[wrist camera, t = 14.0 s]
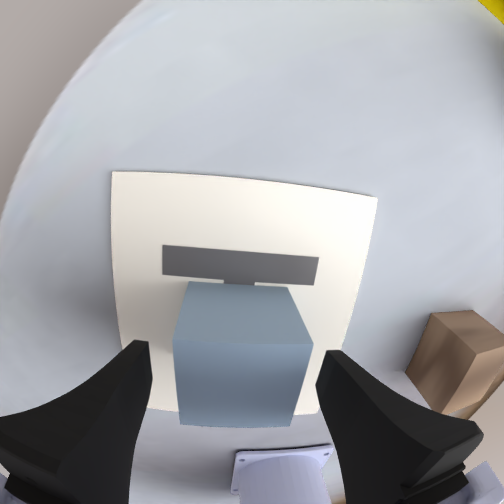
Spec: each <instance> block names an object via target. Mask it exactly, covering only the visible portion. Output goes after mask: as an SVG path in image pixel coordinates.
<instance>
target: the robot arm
mask: <svg viewBox="0 0 504 504" xmlns="http://www.w3.org/2000/svg"><path fill="white" fill-rule="evenodd" d="M152 381H153V375H152V367H151V359H150V350H149V341H142V340H135V339H134V340H133V341H132V342H131V343H130V344H128V345H127V346H126V347H125V348H124V349H123V350H122V351H121V352H120V353H119V354H118V355H117V356H116V357H114V358H113V359H112V360H111V361H110V362H109V363H108V364H106V365H105V366H104V367H103V368H102V369H101V370H99V371H98V372H97V373H96V374H94V375H93V376H92V377H90V378H89V379H88V380H87V381H85V382H84V383H82V384H81V385H79V386H78V387H76V388H75V389H73V390H71V391H70V392H68V393H66V394H64V395H62V396H60V397H58V398H56V399H54V400H52V401H50V402H48V403H46V404H44V405H41V406H39V407H36V408H33V409H30V410H27V411H24V412H20V413H16V414H12V415H8V416H3V417H0V463H1V464H2V466H3V467H4V468H5V469H6V470H7V471H8V472H9V473H10V475H9V477H8V479H7V478H6V477H5V476H4V475H2V474H1V473H0V504H128V502H129V487H130V477H131V468H132V461H133V455H134V449H135V444H136V440H137V437H138V434H139V430H140V427H141V424H142V421H143V417H144V414H145V411H146V408H147V405H148V401H149V398H150V392H151V387H152ZM315 387H316V392H317V397H318V401H319V405H320V408H321V411H322V413H323V416H324V419H325V421H326V424H327V426H328V429H329V432H330V434H331V437H332V439H333V442H334V445H335V448H336V451H337V455H338V459H339V463H340V468H341V473H342V478H343V483H344V490H345V497H346V504H500V503H501V502H502V501H503V500H504V487H503V486H502V484H501V482H500V481H499V479H498V478H497V476H496V475H495V473H494V472H493V470H492V469H491V467H490V466H489V464H488V463H487V461H485V462H483V463H481V464H480V465H478V466H477V467H475V468H474V469H472V470H471V471H470V472H468V473H467V474H466V475H464V473H463V472H462V471H463V470H464V469H465V465H464V463H463V461H464V460H465V459H466V458H467V457H468V456H469V455H470V454H471V453H472V452H473V451H474V450H475V449H476V447H477V446H478V445H479V444H480V442H481V441H482V439H483V436H484V434H483V432H482V431H481V430H480V428H479V427H478V426H477V424H476V423H475V422H474V421H470V420H465V419H460V418H455V417H451V416H448V415H444V414H441V413H438V412H435V411H433V410H430V409H428V408H425V407H423V406H421V405H418V404H416V403H414V402H412V401H410V400H408V399H407V398H405V397H403V396H401V395H400V394H398V393H396V392H395V391H393V390H392V389H390V388H389V387H387V386H386V385H384V384H383V383H381V382H380V381H379V380H377V379H376V378H375V377H373V376H372V375H371V374H369V373H368V372H367V371H366V370H364V369H363V368H362V367H361V366H359V365H358V364H357V363H356V362H355V361H353V360H352V359H351V358H350V357H348V356H347V355H346V354H345V353H343V352H342V351H341V350H326V353H325V356H324V359H323V362H322V365H321V369H320V372H319V375H318V378H317V381H316V384H315ZM333 450H334V448H333V446H332V445H326V446H318V447H310V448H300V449H289V450H273V451H240V452H238V453H236V457H235V464H234V470H233V476H232V482H231V489H230V494H232V495H239V496H240V504H331V501H330V497H329V494H328V490H327V487H326V484H325V480H324V477H323V474H322V470H321V469H322V467H323V466H324V464H325V463H326V461H327V460H328V458H329V457H330V455H331V454H332V452H333Z"/></svg>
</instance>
